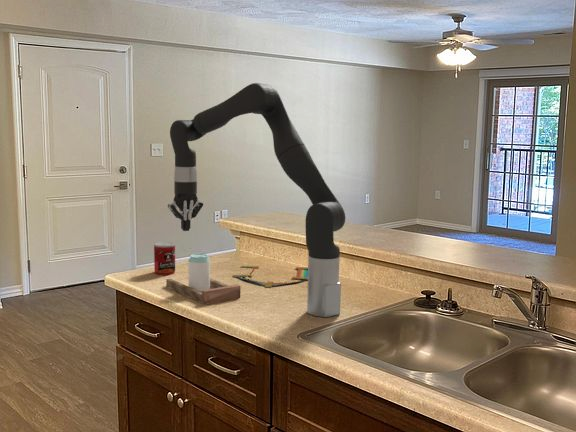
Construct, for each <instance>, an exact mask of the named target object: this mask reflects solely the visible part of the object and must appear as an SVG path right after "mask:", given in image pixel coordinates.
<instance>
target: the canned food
mask: <svg viewBox="0 0 576 432" xmlns="http://www.w3.org/2000/svg"><path fill="white" fill-rule="evenodd" d="M153 253H154V254H153V255H154V256H153V261H154V264H153V265H154V273H155V274H156V275H158V276H168V275H173V274H174V273H175V272H176V243H175V242H172V241H158V242H155V243H154V244H153Z"/></svg>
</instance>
